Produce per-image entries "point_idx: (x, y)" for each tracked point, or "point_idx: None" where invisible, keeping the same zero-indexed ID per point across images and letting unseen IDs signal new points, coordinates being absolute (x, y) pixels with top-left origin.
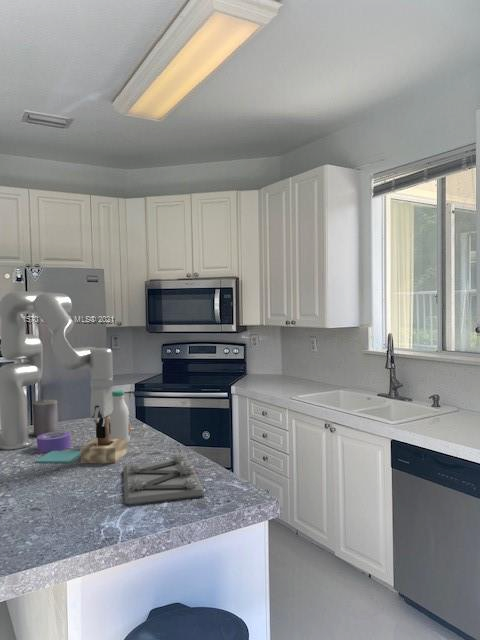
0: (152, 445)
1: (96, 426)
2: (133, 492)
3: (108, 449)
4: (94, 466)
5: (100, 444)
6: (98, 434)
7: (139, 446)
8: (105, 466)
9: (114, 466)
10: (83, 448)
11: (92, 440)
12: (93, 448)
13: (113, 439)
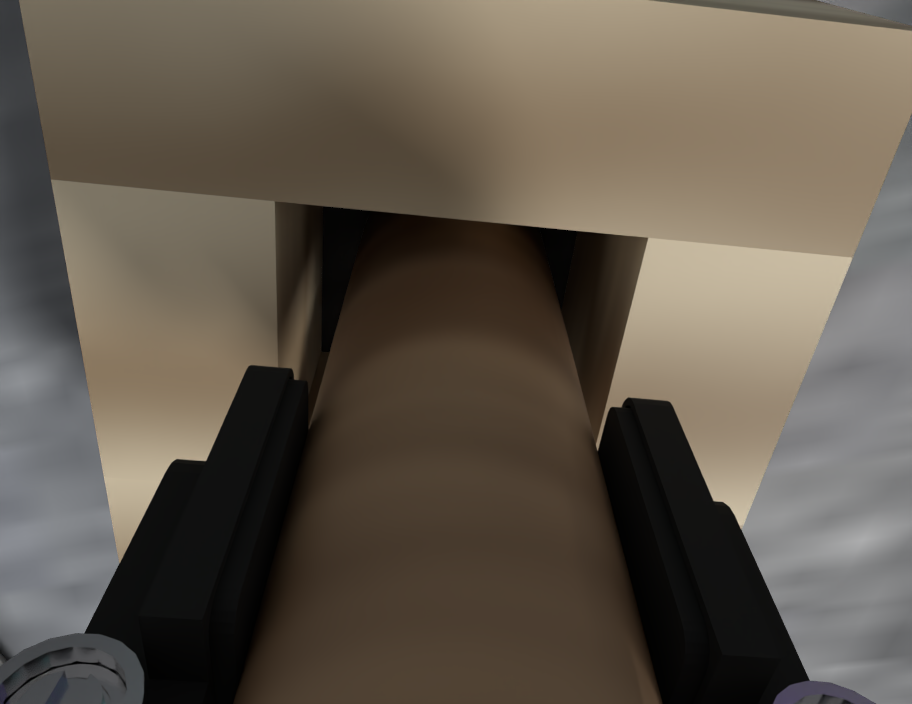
0: (870, 664)
1: (24, 677)
2: None
3: (117, 500)
4: (17, 217)
5: (333, 340)
6: (167, 493)
7: (887, 561)
8: (49, 361)
9: (70, 458)
10: (25, 17)
11: (765, 43)
12: (69, 261)
13: (707, 473)
